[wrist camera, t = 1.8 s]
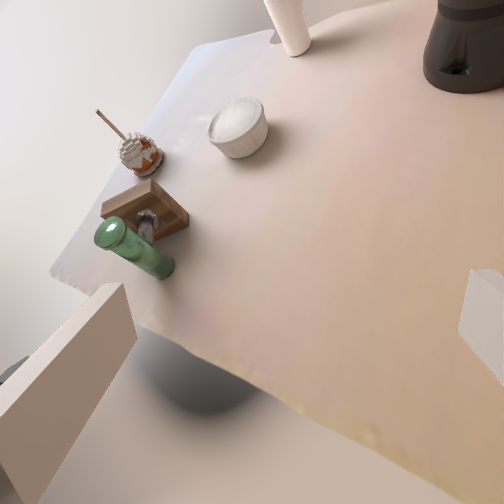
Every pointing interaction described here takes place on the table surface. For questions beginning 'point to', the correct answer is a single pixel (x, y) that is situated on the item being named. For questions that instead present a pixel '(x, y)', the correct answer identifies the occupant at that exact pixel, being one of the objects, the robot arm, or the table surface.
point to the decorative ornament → (137, 151)
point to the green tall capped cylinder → (135, 244)
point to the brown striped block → (143, 198)
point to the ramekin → (239, 128)
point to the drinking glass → (290, 24)
